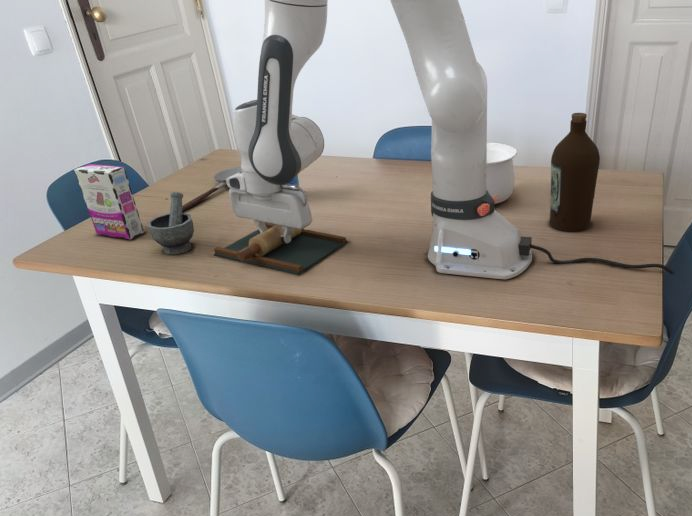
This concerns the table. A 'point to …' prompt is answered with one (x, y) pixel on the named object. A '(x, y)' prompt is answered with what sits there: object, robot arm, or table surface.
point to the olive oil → (573, 178)
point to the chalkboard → (288, 251)
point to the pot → (500, 170)
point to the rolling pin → (265, 242)
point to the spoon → (218, 177)
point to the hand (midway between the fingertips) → (276, 239)
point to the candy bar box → (109, 201)
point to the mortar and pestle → (173, 227)
